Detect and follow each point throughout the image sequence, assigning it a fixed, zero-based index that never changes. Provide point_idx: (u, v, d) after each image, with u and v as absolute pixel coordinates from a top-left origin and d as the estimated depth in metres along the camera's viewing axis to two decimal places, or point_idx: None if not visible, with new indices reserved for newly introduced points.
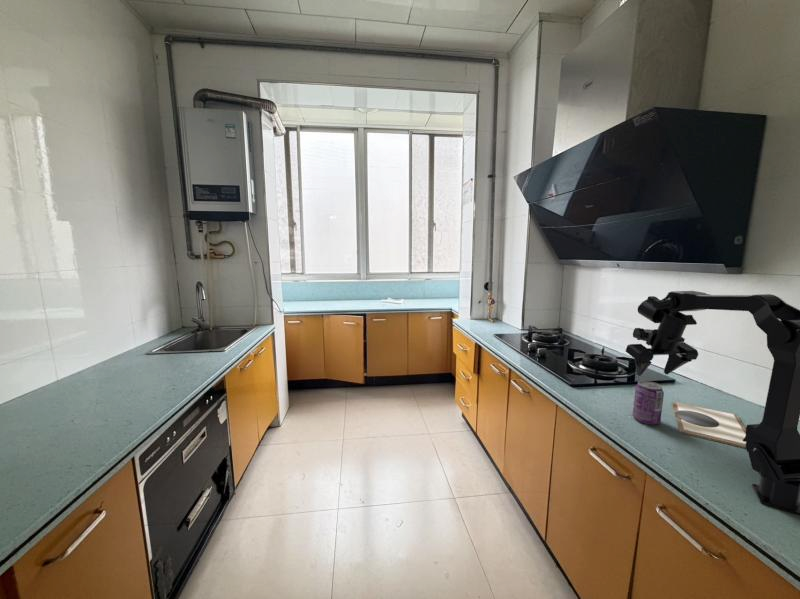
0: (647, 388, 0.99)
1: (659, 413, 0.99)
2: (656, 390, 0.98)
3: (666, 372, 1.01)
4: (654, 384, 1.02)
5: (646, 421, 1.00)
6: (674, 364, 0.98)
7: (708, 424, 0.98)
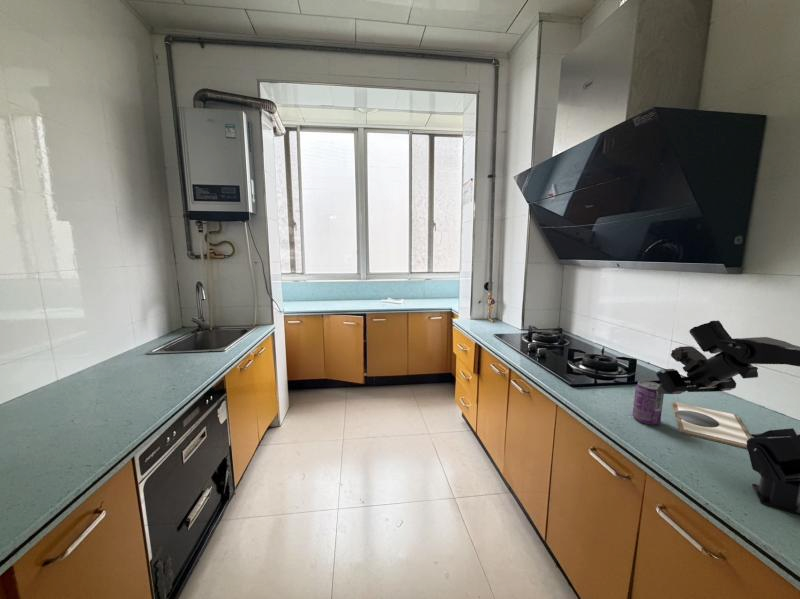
0: (647, 388, 0.99)
1: (659, 413, 0.99)
2: (656, 390, 0.98)
3: (688, 390, 0.93)
4: (654, 384, 1.02)
5: (646, 421, 1.00)
6: (702, 388, 0.90)
7: (708, 424, 0.98)
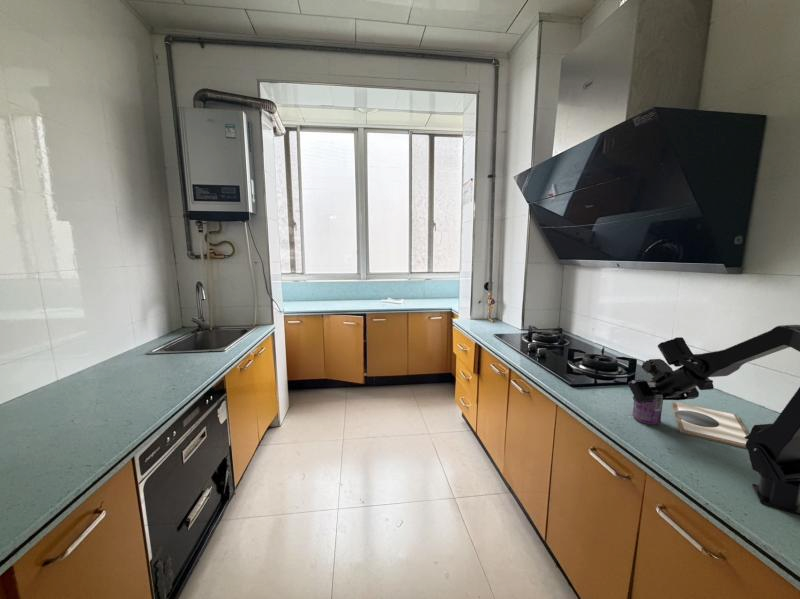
0: None
1: (659, 413, 0.99)
2: None
3: None
4: (654, 384, 1.02)
5: (646, 421, 1.00)
6: None
7: (708, 424, 0.98)
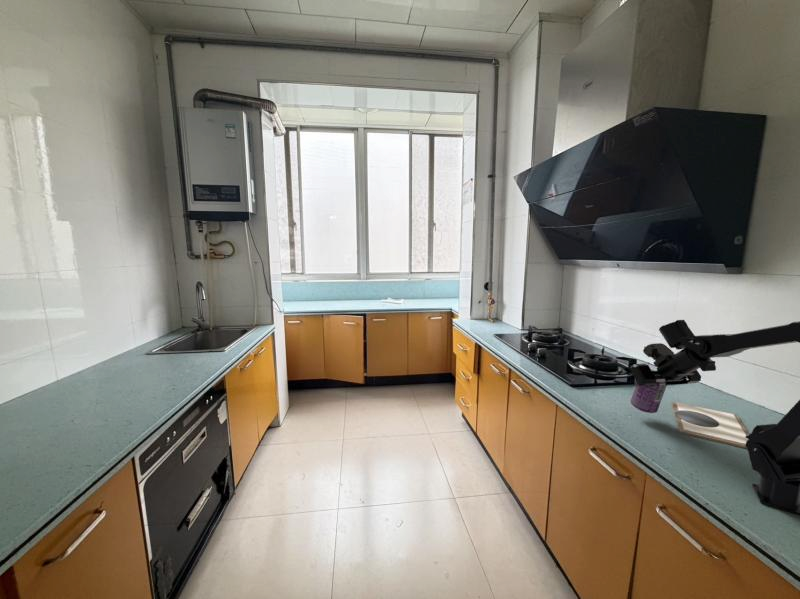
0: None
1: (658, 404, 0.99)
2: (659, 382, 0.97)
3: None
4: None
5: (643, 410, 1.00)
6: (669, 382, 0.99)
7: (708, 424, 0.98)
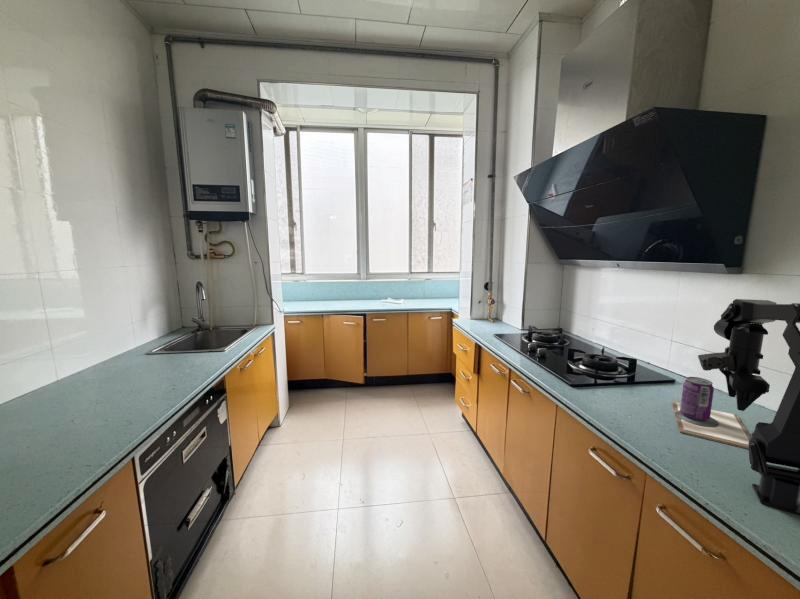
0: (691, 382, 1.00)
1: (704, 409, 0.99)
2: (701, 385, 0.99)
3: (733, 395, 0.90)
4: (706, 381, 1.01)
5: (689, 415, 1.01)
6: None
7: (708, 424, 0.98)
